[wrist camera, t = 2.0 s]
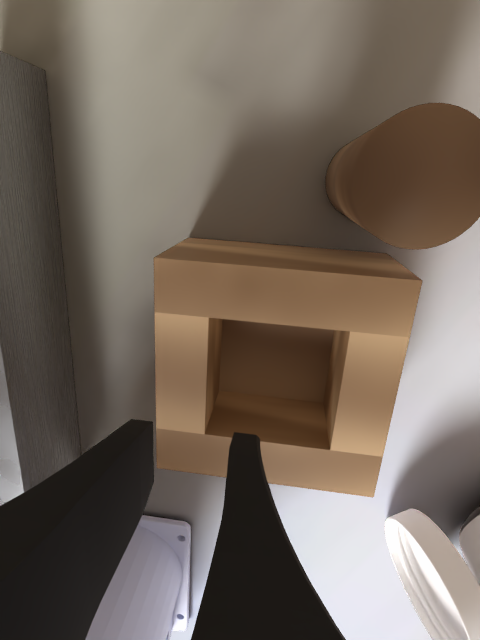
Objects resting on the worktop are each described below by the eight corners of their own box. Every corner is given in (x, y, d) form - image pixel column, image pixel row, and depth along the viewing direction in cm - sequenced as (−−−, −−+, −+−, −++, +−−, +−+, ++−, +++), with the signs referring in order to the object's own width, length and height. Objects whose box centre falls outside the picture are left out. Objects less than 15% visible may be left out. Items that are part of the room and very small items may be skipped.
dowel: (395, 221, 17) (477, 254, 10) (320, 215, 17) (343, 244, 10) (411, 140, 16) (516, 106, 8) (330, 136, 16) (365, 99, 9)
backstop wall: (83, 484, 24) (34, 557, 20) (53, 479, 24) (-4, 551, 20) (45, 70, 17) (-51, 28, 12) (0, 68, 17) (-111, 26, 12)
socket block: (354, 425, 21) (373, 497, 16) (185, 404, 21) (156, 467, 17) (387, 253, 18) (422, 280, 13) (188, 237, 18) (153, 257, 14)
